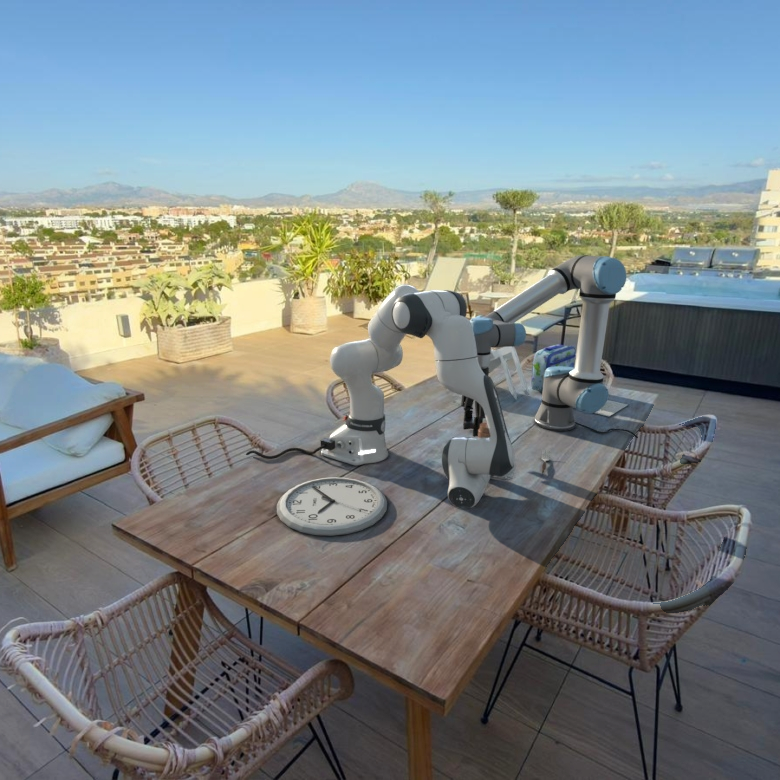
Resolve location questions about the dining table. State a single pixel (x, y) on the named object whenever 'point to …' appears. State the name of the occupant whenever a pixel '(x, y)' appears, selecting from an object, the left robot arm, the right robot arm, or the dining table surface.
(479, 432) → the tan rounded cylinder
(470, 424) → the lid
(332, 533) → the wall clock
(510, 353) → the white plastic object
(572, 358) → the lunch box
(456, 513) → the dining table surface
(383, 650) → the dining table surface
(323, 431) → the dining table surface
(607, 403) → the invitation card
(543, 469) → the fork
